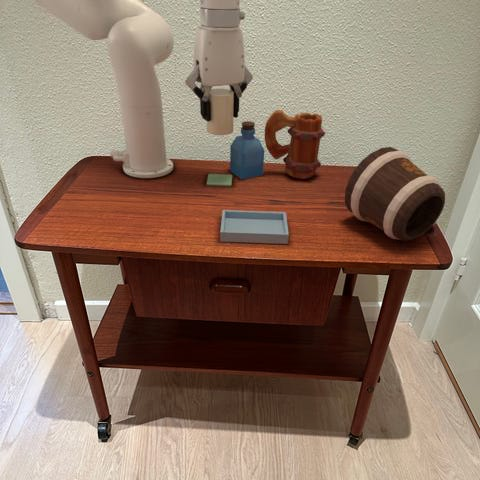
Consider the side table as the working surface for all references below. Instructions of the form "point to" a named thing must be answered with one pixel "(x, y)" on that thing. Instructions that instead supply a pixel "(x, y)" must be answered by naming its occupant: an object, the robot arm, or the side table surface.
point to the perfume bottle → (247, 153)
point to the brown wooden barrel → (394, 194)
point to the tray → (254, 227)
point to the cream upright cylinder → (221, 112)
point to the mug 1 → (296, 142)
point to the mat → (219, 180)
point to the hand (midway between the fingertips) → (220, 117)
